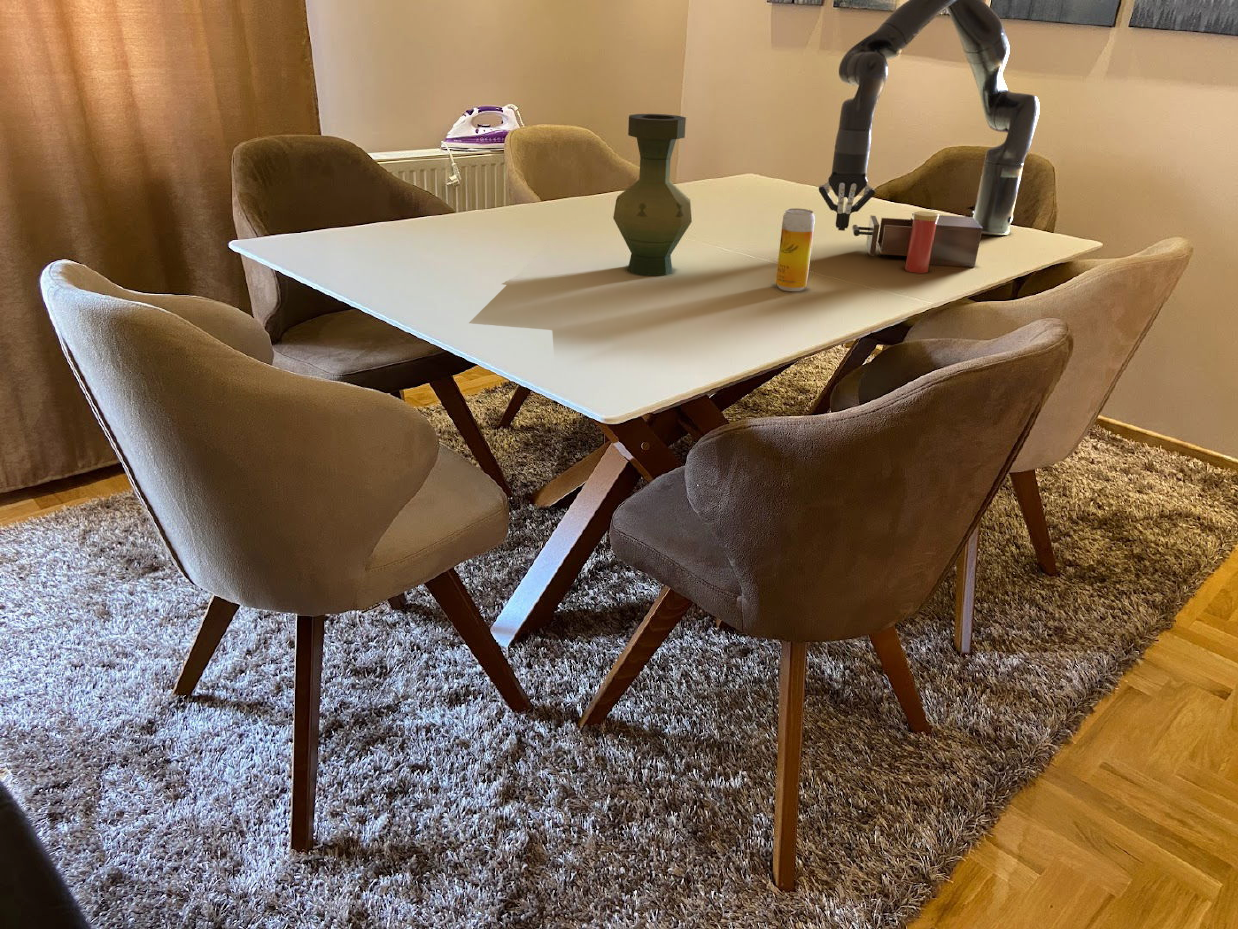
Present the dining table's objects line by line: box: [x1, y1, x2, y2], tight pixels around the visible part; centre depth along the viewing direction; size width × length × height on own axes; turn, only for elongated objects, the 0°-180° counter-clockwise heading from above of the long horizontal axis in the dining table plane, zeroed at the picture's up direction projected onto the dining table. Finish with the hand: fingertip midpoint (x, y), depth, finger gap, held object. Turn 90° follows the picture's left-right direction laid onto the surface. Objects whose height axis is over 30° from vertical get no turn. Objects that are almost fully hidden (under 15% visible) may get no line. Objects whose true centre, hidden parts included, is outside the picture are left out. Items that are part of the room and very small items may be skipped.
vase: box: [612, 113, 693, 277], centre depth 186 cm, size 16×16×30 cm
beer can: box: [775, 207, 816, 292], centre depth 180 cm, size 6×6×15 cm
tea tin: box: [904, 210, 940, 274], centre depth 197 cm, size 5×5×12 cm
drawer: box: [851, 215, 913, 257], centre depth 209 cm, size 16×10×7 cm, turn 81°
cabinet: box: [910, 213, 983, 268], centre depth 207 cm, size 14×12×9 cm
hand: (841, 229), depth 210 cm, fingers closed
